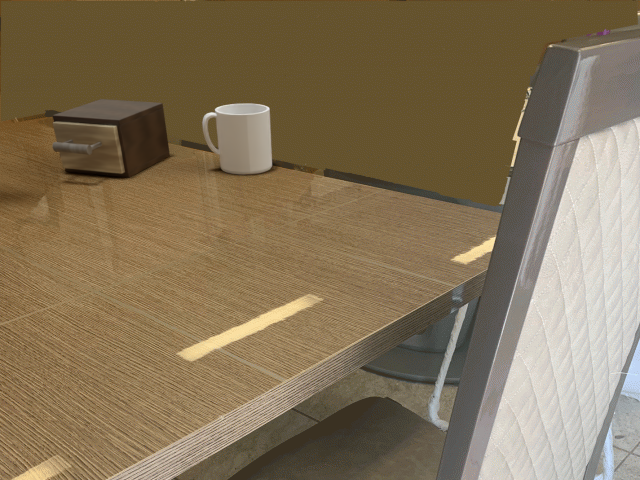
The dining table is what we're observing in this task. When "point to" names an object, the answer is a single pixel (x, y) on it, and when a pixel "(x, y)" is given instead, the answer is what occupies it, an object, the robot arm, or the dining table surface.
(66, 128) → the drawer
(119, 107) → the cabinet
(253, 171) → the mug
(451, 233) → the dining table surface
